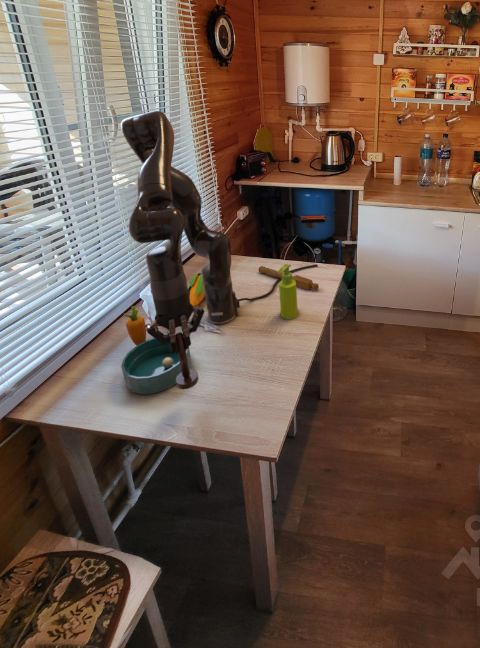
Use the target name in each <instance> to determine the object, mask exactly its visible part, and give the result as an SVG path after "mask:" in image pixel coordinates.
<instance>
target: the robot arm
mask: <svg viewBox="0 0 480 648" xmlns="http://www.w3.org/2000/svg"><path fill="white" fill-rule="evenodd" d="M120 128H121V132H122V134H123V137H124V139H125V140H126V142H127V144H128V145H129V147H130V148H131V150H132V151H133V153H134V154H135V156H137V159H139V161H140V162H141V163H142V166H141V168H140V170H139V173H138V176H137V200H136V203H135V206H134V208H133V210H132V213H131V216H130V218H129V222H128V231H129V235H130V237H131V239H132V240H133V241H135V242H136V243H138V244H149V243H157V242H162V241H167V242H166V243H165V244H162V245H160V246H157V247H154V248H153V249H151V250H149V251H148V252H147V253H146V257H145V262H146V267H147V270H148V275H149V286H150V294H151V296H152V300H153V301H152V302H153V305H154V310H155V315H154V320H152V322H151V323H147V324H146V323H145V328H146V334H148V335H149V336H151V337H152V338H155V339H157V340H158V341H160V342H161V343H162V344H165V343H166V342H169V344H170V348H171V350H172V352H173V353H174V352H175V353H176V354H177V353H179V350H178V345H177V341H176V338H175V334H176V329H177V328H179V327H180V329H181V333H182V334H183V338H184V344H185V349H186V350H187V349H189V350H190V347H191V346H192V340H191V334H192V333H195V332H197V330H198V328H199V326H200V325H199V324H200V322H202V319H203V317H204V314H205V310H204V308H203V307H202V305H197V307H193V306H192V304H191V303H190V297H189V292H188V288H189V285H188V281H187V277H186V273H185V271H184V265H183V259H182V251H181V249H182V238H183V233H184V234H185V237H186V239H187V241H188V244H189V246H190V248H191V250H192V251H193V253H194V254H195V255H197V256H199V257H202V258H205V259H208V261H209V262H208V263H207V264H205V265H204V266H203V267H202V268H201V272H200V273H201V274H202V280H203V286H204V293H205V296H204V300H205V305H206V312H207V318H208V323H212V324H214V325H224V324H227V323H230V322H231V321H233V320H235V318H236V317H237V316H239V313H238V308H241V305H240V304H241V303H240V302H242V301H249V302H251V301H257V300H260V299H264V298H265V297H267V296H270V294H272V293H273V291H274V290H275V288H276V286H277V284H279V282H280V281H281V279H280V278H277V279H276V281H275V282H274V283H273V285H272V288H271V289H270V291H268V292H267V293H265V294H263V295H260V296H256V297H252V298H249V297H243V298H237V296H236V292H235V291H234V290H233V289H234V288H233V282H232V274H231V267H232V248H231V246H232V245H231V241H230V238H229V236H228V235H227V234H226V233H224V232H221V231H217V230H212V229H210V228H208V226H207V225H206V223H205V222H204V220H203V218H202V215H201V213H202V212H201V211H202V207H203V205H202V203H203V202H202V196H201V194H200V192H199V190H198V188H197V186H196V185H195V184H196V183H194V181H193V179H192V178H191V176H190V177H189V176H188V175H187V174H185V173H184V172H183V171H181V170H179V169H177V168H175V167H173V166H172V162H173V155H174V149H175V148H174V147H175V132H174V128H173V125H172V123H171V121H170V119H169V118H168V116H167V114H166V113H164V112H163V111H160V110H154V111H149V112H145V113H142V114H141V113H140V114H137V115H134V116H130V117H127V118H124V119H123V120H122V121H121V123H120ZM315 267H318V264H312V265H305V266H301V267H298V268H294V269H291V270H289V272H290V273H291V274H292V273H293V272H297V271H299V270H304V269H309V268H315ZM191 316H192V317H191ZM190 318H191V320H190ZM187 321H191V322H189V323H188V322H187ZM158 326H161V327H163V328H164V329H166V334H165V333H163V332H162V331H160V330H159V327H158Z"/></svg>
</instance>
